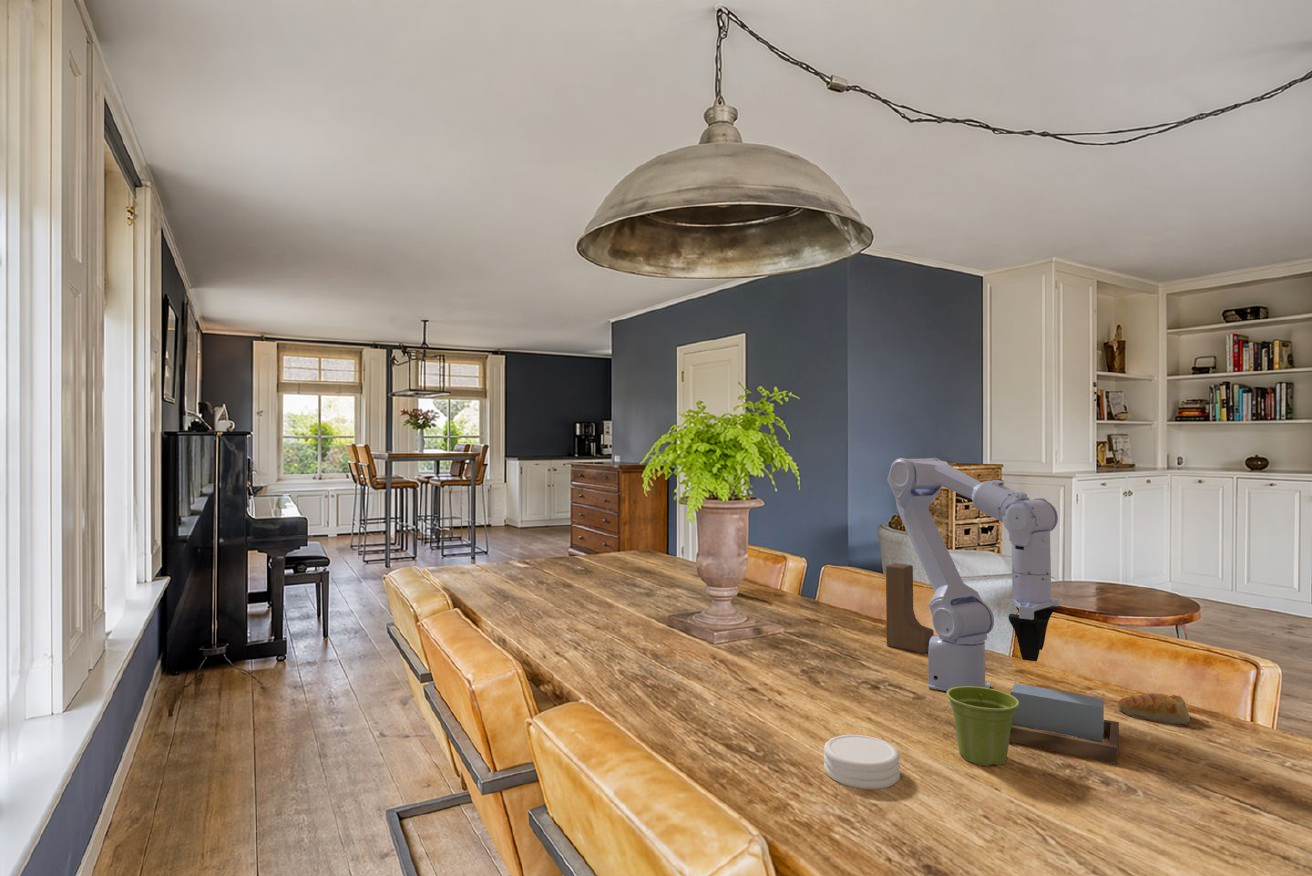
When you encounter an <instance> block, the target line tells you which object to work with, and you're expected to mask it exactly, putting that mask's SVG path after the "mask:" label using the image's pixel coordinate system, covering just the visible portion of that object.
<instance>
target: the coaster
mask: <svg viewBox="0 0 1312 876" xmlns="http://www.w3.org/2000/svg"><path fill="white" fill-rule="evenodd" d="M823 752H824V755H823V761H824V763H823V768H824V771H825V773H826V774H827V775H828V777H830V778H831V779H833V780H834V781H835V782H837V783H840V784H842V785H844V786H848V787H851V788H856V789H861V790H881V789H886V788H890V787H891V786H894V785H895V784H897V782H898V781H899V779H900V776H901V773H900V768H901V765H900V758H901V757H900V752H899V751H898V750H897V748H896V747H895V746H893V745H892V744H891V743H889V742H887V741H885V740H882V739H880V738H876V737H873V736H869V735H868V736H867V735H860V734H844V735H842V734H841V735H838V736H834V737H832V738H830V739H828V740H827V741H826V742H825V744H824V746H823Z"/></svg>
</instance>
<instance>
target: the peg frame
mask: <svg viewBox="0 0 1312 876" xmlns="http://www.w3.org/2000/svg"><path fill="white" fill-rule="evenodd" d="M1119 724H1120V722H1119V721H1114V720H1109V719H1104V736H1103V737H1107V738H1109V739H1108V743H1106V742H1101V741H1096V740H1090V739H1085V738H1080V737H1075V736H1070V735H1065V734H1060V733H1055V732H1049V731H1044V730H1039V729H1034V728H1029V727H1024V726H1019V725H1014V724H1012V725H1011V731H1010V738H1009V743H1010V742H1011V743H1015V744H1016V743H1017V744H1019V745H1020V744H1021V745H1023V746H1024V745H1025V746H1030V747H1034V748H1038V749H1039V748H1040V749H1044V750H1050V751H1053V752H1058V753H1064V754H1068V755H1073V756H1077V757H1084V758H1086V759H1087V758H1088V759H1091V760H1098V761H1102V762H1107V763H1112V764H1117V765H1118V764H1119V763H1118V762H1119V760H1118V759H1119V745H1120V744H1119V743H1120V725H1119Z"/></svg>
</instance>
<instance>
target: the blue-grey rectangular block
mask: <svg viewBox="0 0 1312 876" xmlns="http://www.w3.org/2000/svg"><path fill="white" fill-rule="evenodd" d="M1010 695H1012V696H1014V697H1015V698H1016V699H1017V700H1018V701H1019V706H1018V707H1017V708H1016V709H1015V715H1014V716H1013V719H1012V725H1015V726H1018V725H1019V726H1024V727H1029V728H1034V729H1035V730H1041V731H1046V732H1051V733H1056V734H1061V735H1066V736H1071V737H1076V738H1078V737H1080V738H1085V739H1090V740H1095V741H1097V742H1102V743H1104V742H1103V741H1104V737H1105V736H1104V720H1105V715H1104V714H1105V713H1104V712H1105V710H1104V707H1105V706H1104V697H1100V696H1093V695H1088V694H1081V693H1075V692H1069V691H1062V690H1056V689H1052V688H1045V687H1040V686H1031V685H1027V684H1021V683H1014V684H1013V686H1012V688H1011V690H1010Z"/></svg>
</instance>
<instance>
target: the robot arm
mask: <svg viewBox="0 0 1312 876" xmlns="http://www.w3.org/2000/svg"><path fill="white" fill-rule="evenodd" d="M886 480H887V482H888V485H889V487H890V490H891V491H892V494H893V495H894V498H895V503H896V510H897V512H898V515H899V518H900V520H901V522H902V524H903V526H904V528H905V530H906V533H907V535H908V537H909V539H910V542H911V544H912V546H913V548H914V550H915V552H916V555H917V557H918V560H919V561H920V563H921V565H922V567H923V570H924V572H925V574H926V576H927V579H928V581H929V584H930V586H931V588H932V590H933V592H934V594H933V596H932V598H931V599H930V601H929V602H928V607H929V611H930V613H931V620H932V622H931V623H932V626H933V628H934V629H933V630H934V631H935V632H936V634H937V635H934V636H932V637H931V639H930V642H929V650H928V653H927V654H928V655H927V657H928V667H927V668H928V671H927V672H928V683H927V688H928V689H930V690H931V689H932V690H938V691H944V692H947V690H949V689H951V688H954V687H960V686H974V687H984V688H989V689H991V688H990V687H991V685H992V684H991V682H988V681H987V682H986V645H985V643H986V641H987V640H988V634H989V633H991V632H992V630H993V629H994V625H995V617H994V614H993V611H992V609H991V608H990V607H989V606H988V604H987V603H985V602H984V601H983V599H982V598H981V596H980V594H979V592H978V591H976V590H975V589H974V588H972V587H970V586H969V585H967V584H966V583H965V582H964V581H963V578H962V577H961V575H960V573H959V571H958V569H957V566H956V565H955V563H954V560H953V558H952V556H951V554H950V552H949V549H948V547H947V546H946V544H945V541H944V539H943V537H942V535H941V533H940V531H939V528H938V526H937V525H936V522H935V520H934V518H933V516H932V515H931V512H930V510H929V508H930V506H931V504H932V503H934V501H935V499H937V496H938V495H939V493H940V491H941V489H942V488H945V489H947V490H951V491H953V492H954V493H956V494H959V495H961V496H964V497H965V498H966V497H967V498H968V499H970V500H972V504H973V506H974V509H976V510H978V511H979V512H982V513H984V514H986V515H988V516H990V517H991V518H993V519H995V520H997V521H999V522H1001V523H1003V525H1004V528H1005V529H1006V530H1007V533H1008V538H1009V539H1008V540H1009V542H1010V544H1011V588H1012V589H1011V591H1012V595H1011V597H1010V602H1011V603H1012V604H1013V606H1015V607H1016V610H1017V611H1018V614H1017V613H1009V615H1008V621H1009V623H1010V625H1011V627H1012V628H1013V632H1014V633H1015V636H1016V640H1017V644H1018V649H1019V652H1020V657H1021V658H1022V659H1021V660H1023V661H1029V662H1037V661H1038V659H1039V656H1040V651H1042V650H1043V648H1044V645H1045V639H1046V633H1047V629H1048V624H1049V621H1050V619H1051V616H1052V614H1053V613H1054V612H1055V611H1054V610H1055V607H1059V606H1060V605H1061V603H1060V600H1059V599H1052V573H1051V572H1052V569H1051V567H1052V565H1051V562H1052V560H1051V559H1052V558H1051V532H1052V531H1053V530H1054V529H1055V528H1056V526H1057V524H1058V519H1059V518H1058V516H1059V514H1058V511H1057V510H1056V507H1055V506H1054V505H1053V504H1052V503H1051V502H1049V501H1048V500H1046V499H1045V498H1041V497H1039V498H1033V499H1030V497H1028V494H1027V493H1025V492H1023V491H1018V492H1017V491H1016V490H1014V489H1011V488H1009V487H1006V486H1005V482H1004V481H1002V480H1000V479H993V480H986V481H983V482H981V481H979V480H978V479H976V478H974V477H972V476H970V475H968V474H967V473H965V472H963V471H961V470H959V469H957V468H955V467H953V465H950V464H949V463H948V461H945V460H941V459H939V458H937V457H928V458H905V457H903V458H902V457H901V458H896V459H895V460H894V461H893V462H892V463H891V465H890V469H889V473H888V476H887V479H886Z"/></svg>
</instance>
